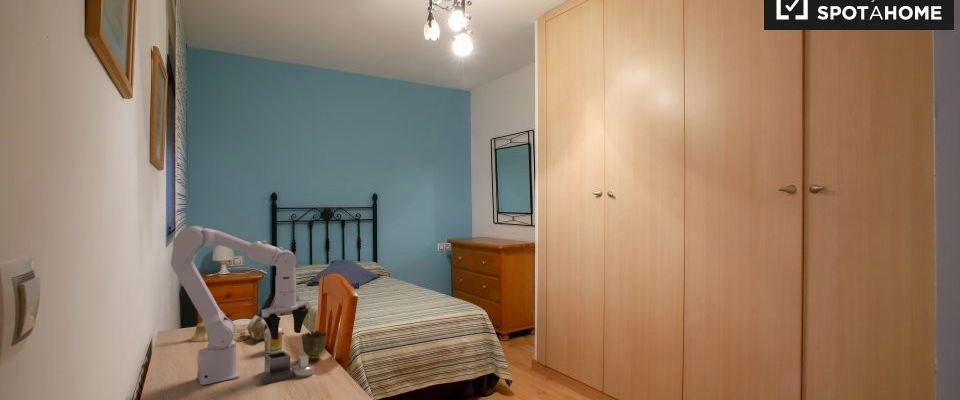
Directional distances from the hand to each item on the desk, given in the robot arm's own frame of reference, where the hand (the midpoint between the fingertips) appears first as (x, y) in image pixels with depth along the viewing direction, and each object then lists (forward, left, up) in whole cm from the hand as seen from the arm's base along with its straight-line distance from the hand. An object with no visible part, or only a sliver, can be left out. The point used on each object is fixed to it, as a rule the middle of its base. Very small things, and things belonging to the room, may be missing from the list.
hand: (286, 335), depth 138 cm
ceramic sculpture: (+3, +37, -10) cm, 39 cm away
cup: (+9, +3, -10) cm, 14 cm away
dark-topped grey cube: (-3, -2, -10) cm, 10 cm away
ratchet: (-2, -8, -10) cm, 13 cm away
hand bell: (-15, +49, -10) cm, 52 cm away
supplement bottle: (+1, +19, -10) cm, 22 cm away
